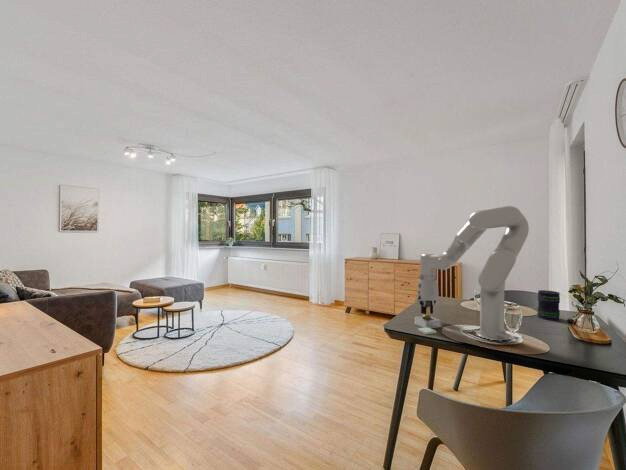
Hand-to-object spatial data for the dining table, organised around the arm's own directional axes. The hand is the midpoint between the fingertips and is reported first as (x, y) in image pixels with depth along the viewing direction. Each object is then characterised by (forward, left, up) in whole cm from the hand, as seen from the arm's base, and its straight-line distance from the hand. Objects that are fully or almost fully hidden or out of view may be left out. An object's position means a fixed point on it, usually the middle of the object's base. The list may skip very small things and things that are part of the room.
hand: (426, 313), depth 156 cm
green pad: (-9, +7, -6) cm, 13 cm away
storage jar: (-9, -75, -7) cm, 76 cm away
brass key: (0, 0, -3) cm, 3 cm away
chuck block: (+1, 0, -6) cm, 6 cm away
